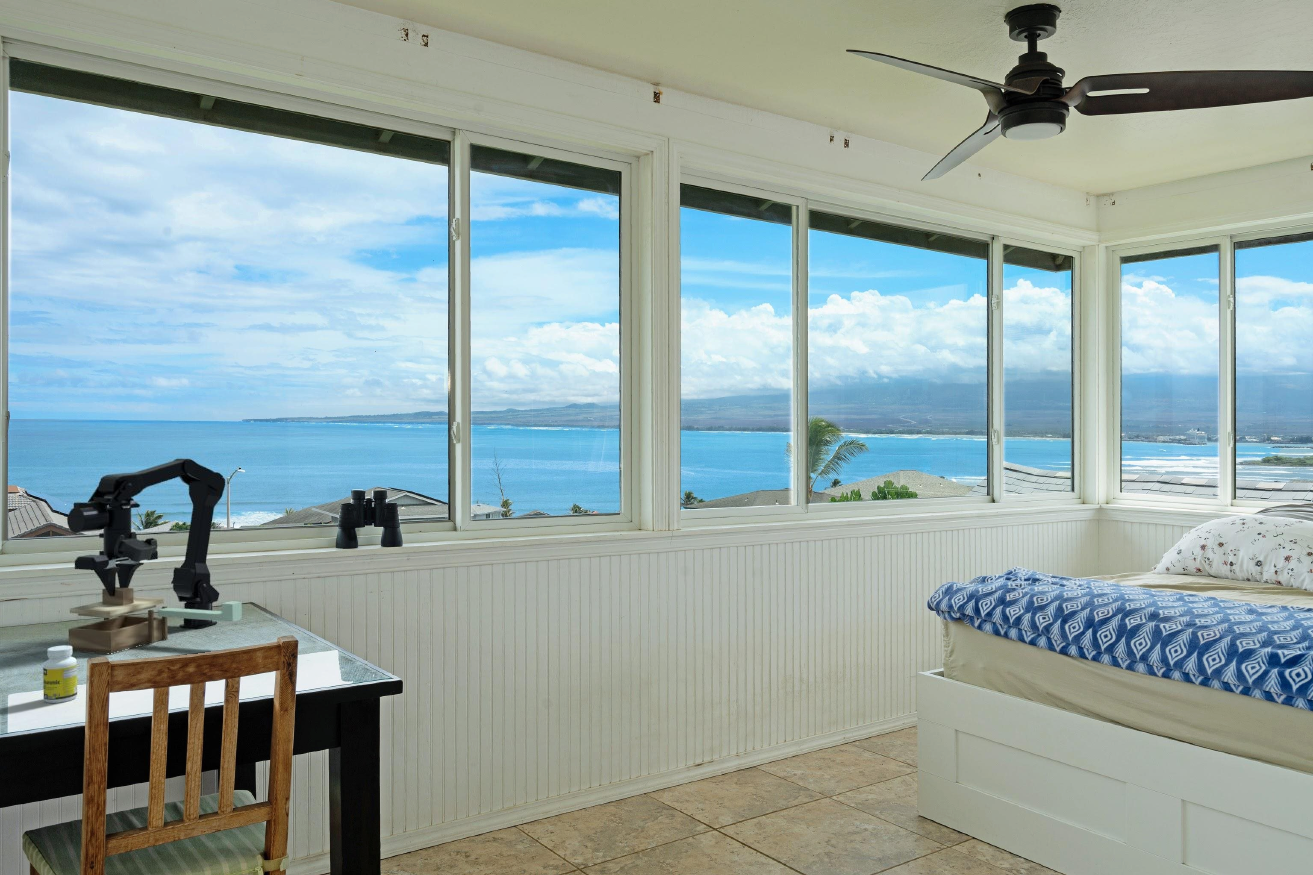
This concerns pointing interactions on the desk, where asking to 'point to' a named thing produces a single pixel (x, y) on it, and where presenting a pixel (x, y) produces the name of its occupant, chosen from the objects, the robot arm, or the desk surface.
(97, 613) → the lid
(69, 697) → the supplement bottle
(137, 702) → the desk surface
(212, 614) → the key
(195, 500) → the robot arm
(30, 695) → the desk surface
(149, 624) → the box
